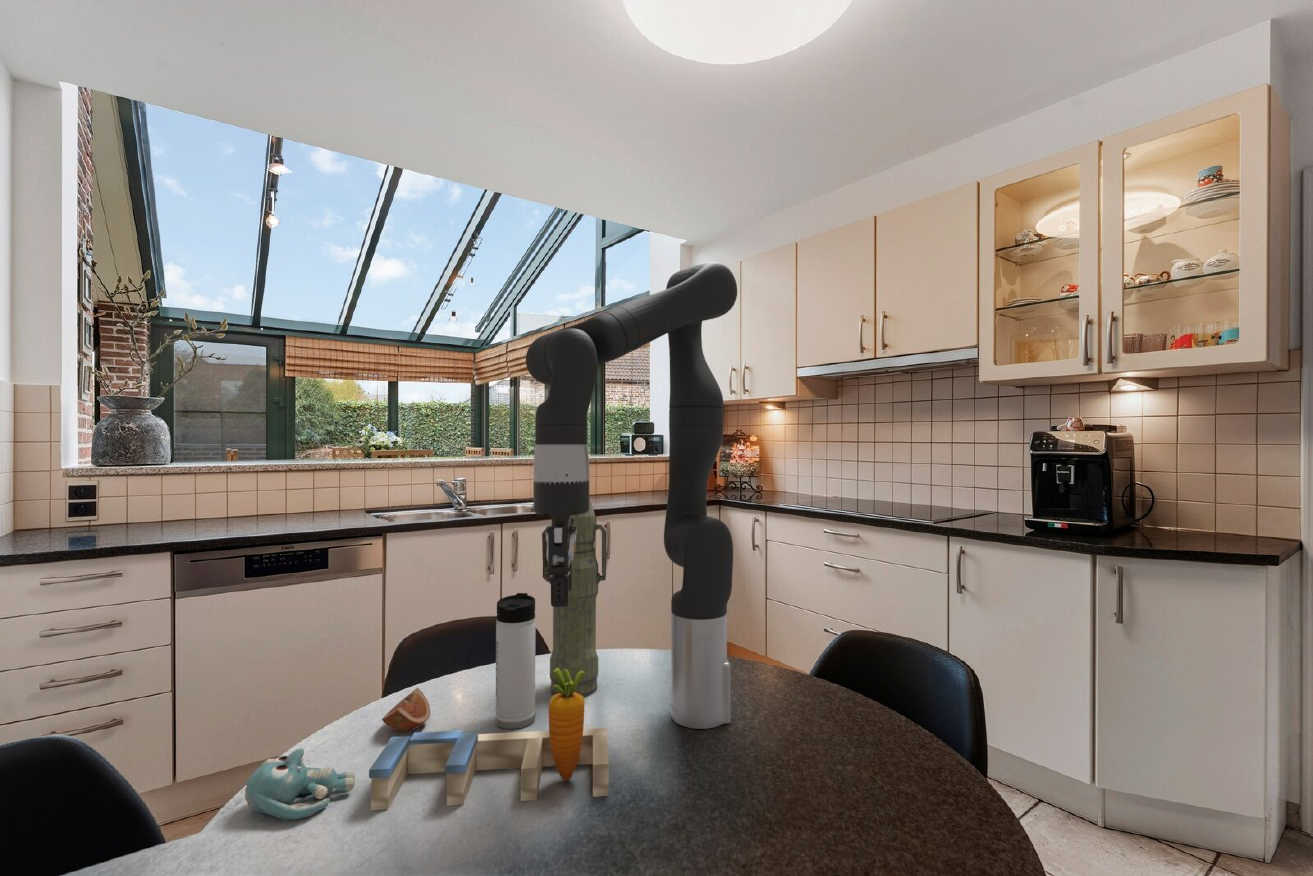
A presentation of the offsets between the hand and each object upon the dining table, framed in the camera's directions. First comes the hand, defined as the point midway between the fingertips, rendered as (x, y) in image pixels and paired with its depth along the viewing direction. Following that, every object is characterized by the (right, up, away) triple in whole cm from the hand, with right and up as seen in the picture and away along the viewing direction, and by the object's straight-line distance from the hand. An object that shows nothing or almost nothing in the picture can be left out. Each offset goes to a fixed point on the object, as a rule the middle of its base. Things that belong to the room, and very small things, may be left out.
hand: (561, 598), depth 80 cm
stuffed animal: (-32, -24, -6) cm, 40 cm away
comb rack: (-8, -24, -2) cm, 25 cm away
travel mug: (-10, -25, +17) cm, 32 cm away
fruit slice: (-27, -25, +14) cm, 39 cm away
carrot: (+1, -24, -1) cm, 24 cm away
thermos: (-3, -25, +30) cm, 39 cm away
